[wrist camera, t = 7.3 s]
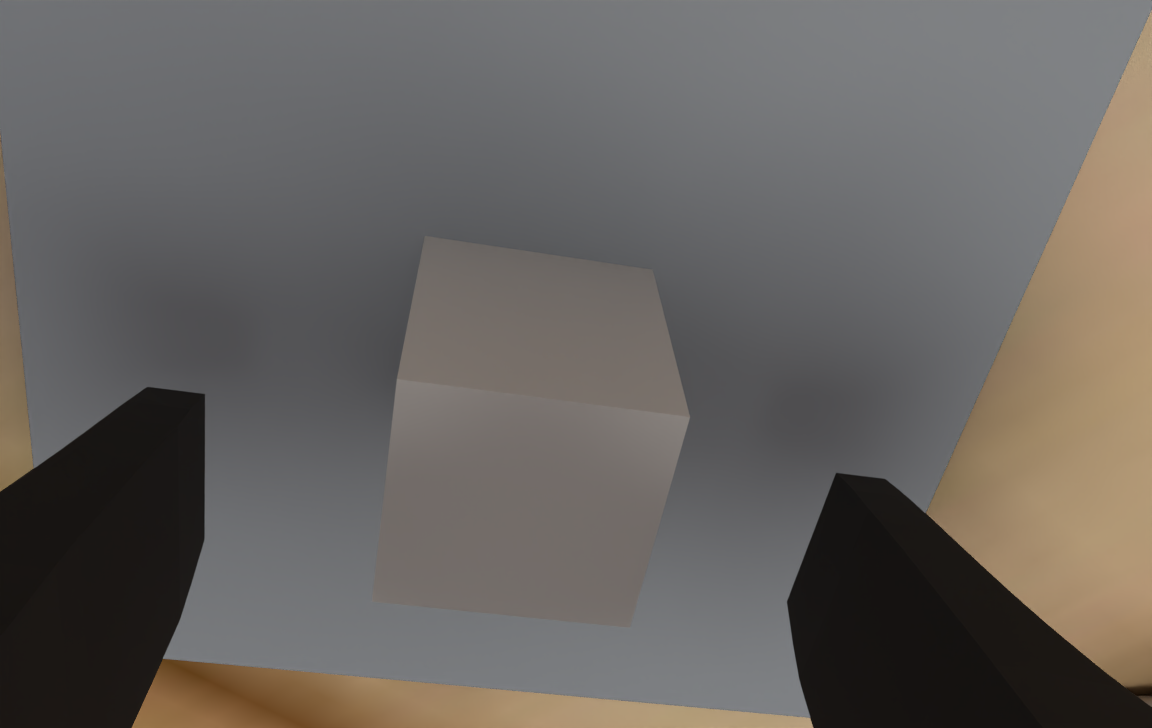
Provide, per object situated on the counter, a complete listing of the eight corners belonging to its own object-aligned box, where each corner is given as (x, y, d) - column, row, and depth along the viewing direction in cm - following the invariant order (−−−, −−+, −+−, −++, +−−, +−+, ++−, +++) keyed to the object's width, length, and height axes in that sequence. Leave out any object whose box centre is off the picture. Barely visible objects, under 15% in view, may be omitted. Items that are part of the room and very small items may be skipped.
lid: (70, 613, 17) (-52, 847, 14) (-8, -316, 11) (-288, -350, 7) (821, 684, 19) (893, 910, 15) (1148, -77, 12) (1414, -3, 9)
